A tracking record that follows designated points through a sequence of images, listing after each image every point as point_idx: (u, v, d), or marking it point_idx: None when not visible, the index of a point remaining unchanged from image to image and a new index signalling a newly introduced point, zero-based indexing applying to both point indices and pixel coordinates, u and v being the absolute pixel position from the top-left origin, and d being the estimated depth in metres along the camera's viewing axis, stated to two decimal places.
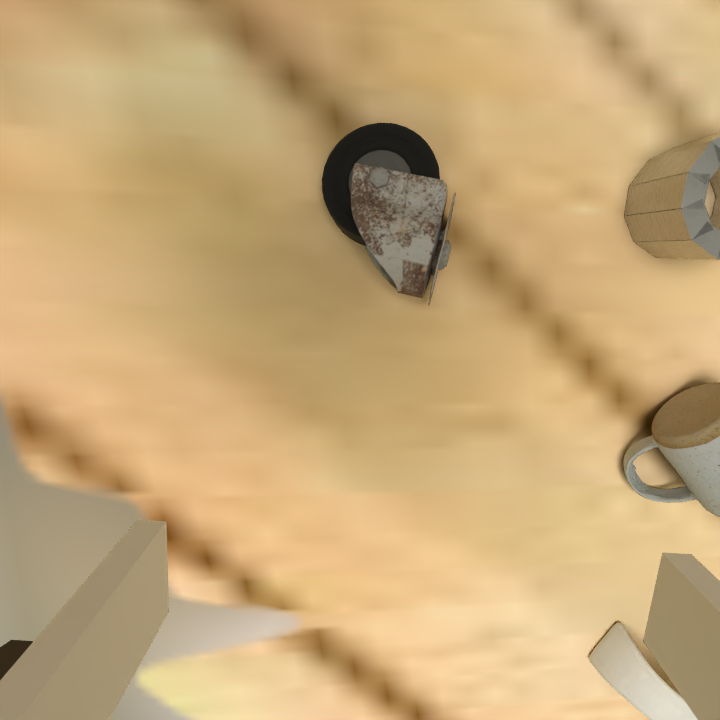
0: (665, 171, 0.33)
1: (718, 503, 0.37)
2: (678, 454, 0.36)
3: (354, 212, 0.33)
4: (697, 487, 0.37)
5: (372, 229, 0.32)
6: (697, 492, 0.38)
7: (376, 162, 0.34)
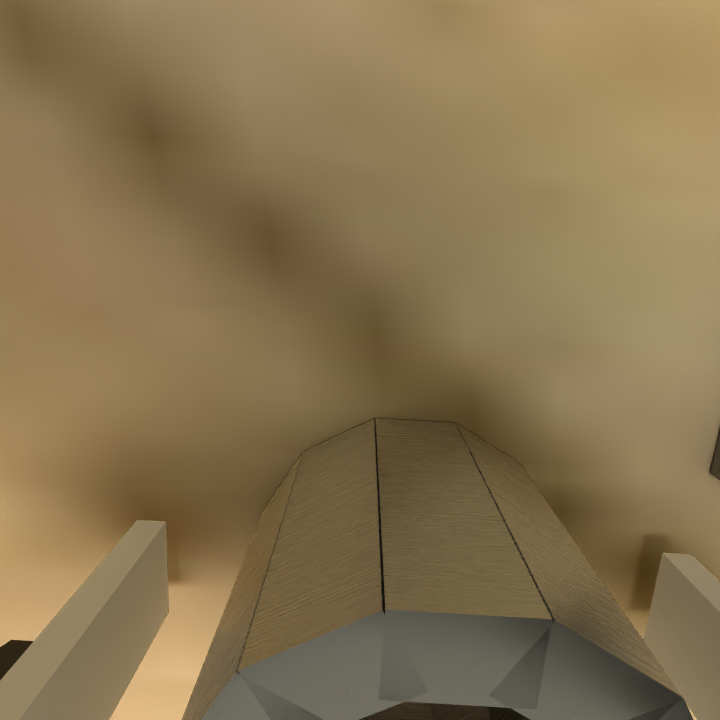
0: (234, 600, 0.10)
1: None
2: None
3: None
4: None
5: None
6: None
7: None
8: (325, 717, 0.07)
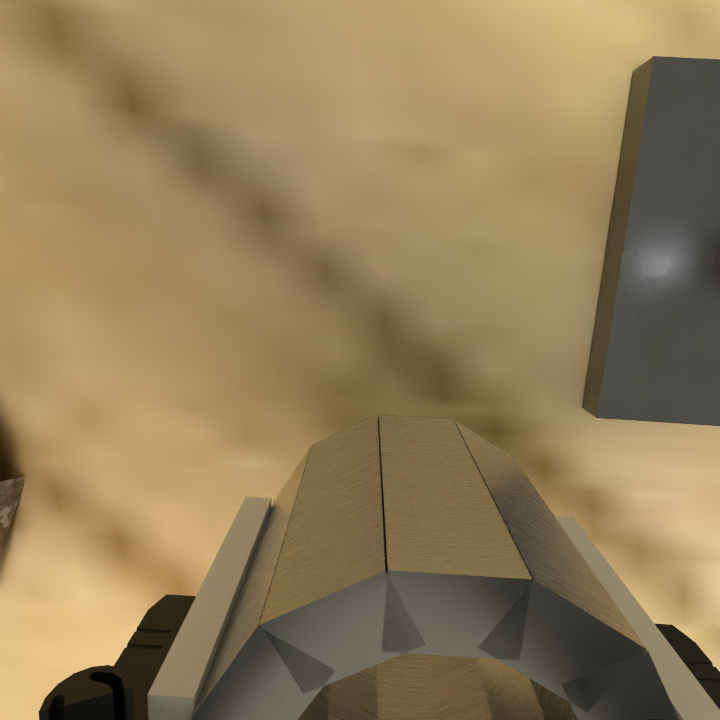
0: (250, 577, 0.11)
1: None
2: None
3: None
4: None
5: None
6: None
7: None
8: (336, 667, 0.08)
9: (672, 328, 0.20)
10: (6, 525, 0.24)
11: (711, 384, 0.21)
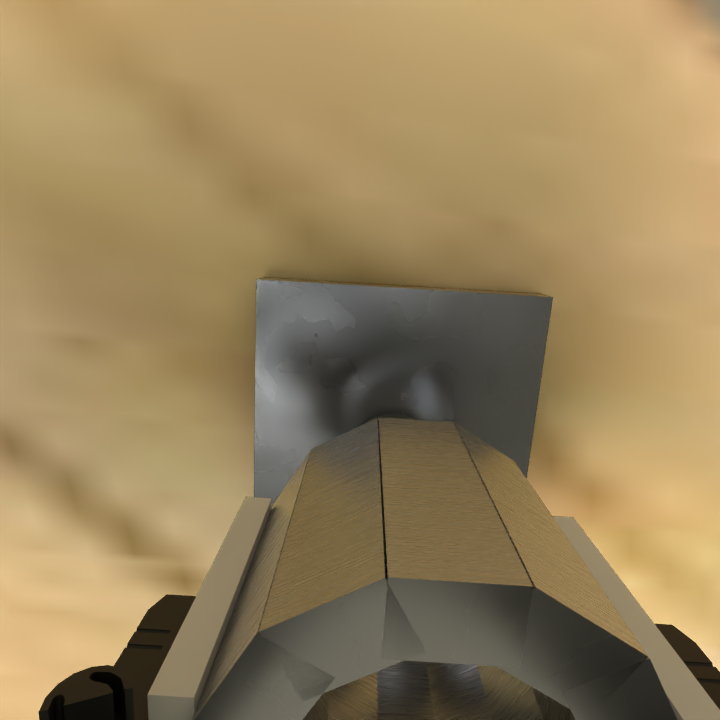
0: (249, 581, 0.11)
1: None
2: None
3: None
4: None
5: None
6: None
7: None
8: (335, 674, 0.08)
9: None
10: None
11: None
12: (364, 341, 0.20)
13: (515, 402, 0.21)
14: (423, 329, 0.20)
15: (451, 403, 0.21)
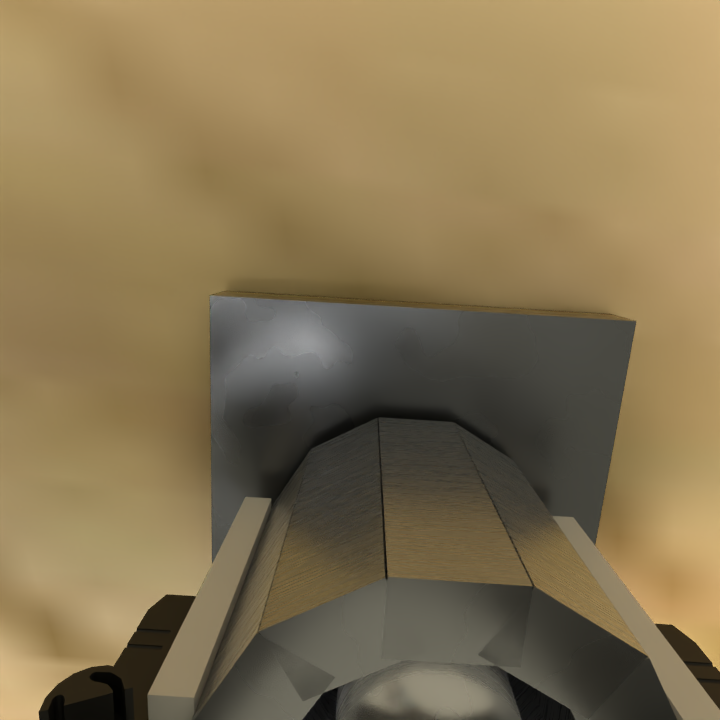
0: (249, 581, 0.11)
1: None
2: None
3: None
4: None
5: None
6: None
7: None
8: (335, 674, 0.08)
9: None
10: None
11: None
12: (365, 383, 0.14)
13: (578, 467, 0.15)
14: (449, 366, 0.14)
15: None
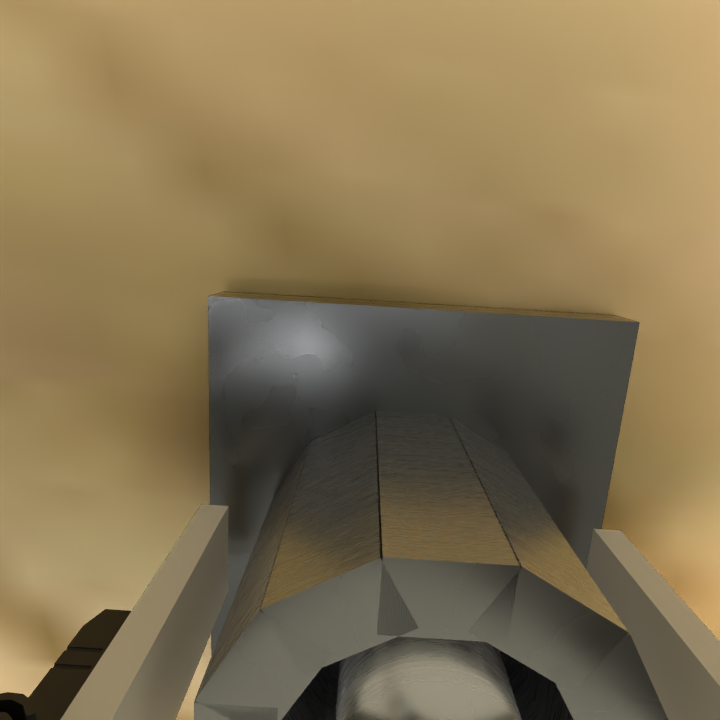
0: (251, 567, 0.11)
1: None
2: None
3: None
4: None
5: None
6: None
7: None
8: (333, 650, 0.08)
9: None
10: None
11: None
12: (365, 385, 0.14)
13: (580, 470, 0.15)
14: (450, 368, 0.14)
15: None
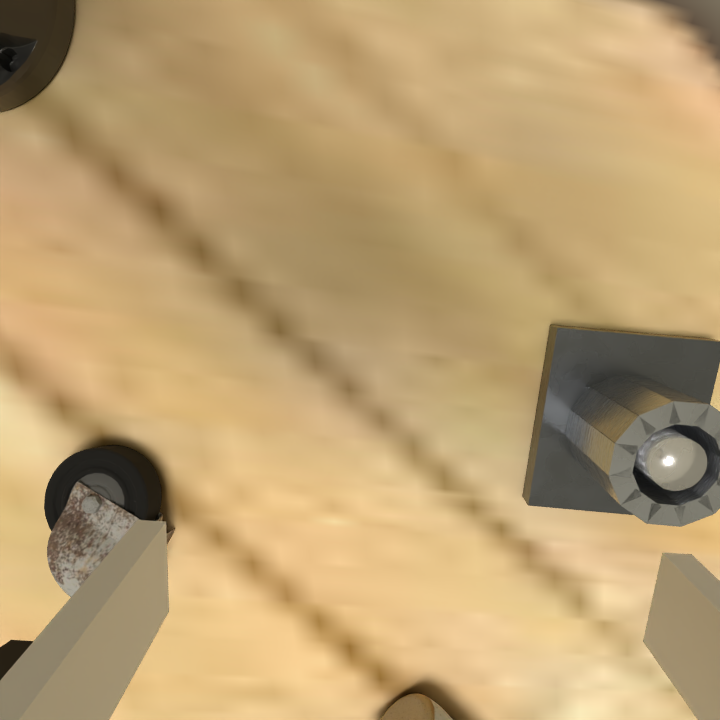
0: (599, 420, 0.33)
1: None
2: None
3: (51, 537, 0.36)
4: None
5: (59, 560, 0.36)
6: None
7: (97, 485, 0.38)
8: (656, 428, 0.30)
9: (568, 460, 0.38)
10: None
11: (589, 489, 0.38)
12: (614, 363, 0.36)
13: None
14: (648, 358, 0.36)
15: None
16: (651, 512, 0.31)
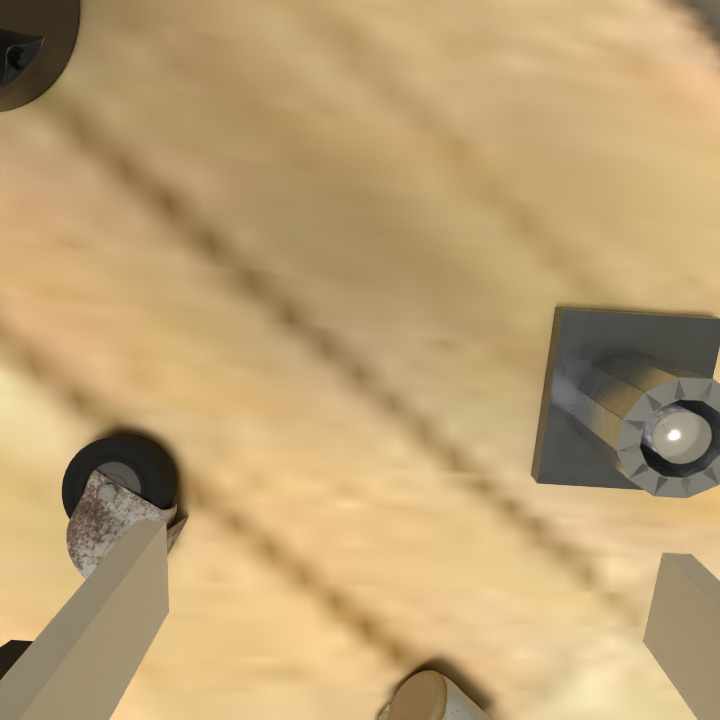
0: (606, 398, 0.34)
1: None
2: None
3: (70, 524, 0.37)
4: None
5: (78, 547, 0.37)
6: None
7: (113, 474, 0.39)
8: (661, 404, 0.31)
9: (575, 438, 0.39)
10: (173, 540, 0.43)
11: (596, 466, 0.39)
12: (618, 343, 0.37)
13: None
14: (652, 336, 0.37)
15: None
16: (658, 485, 0.32)
